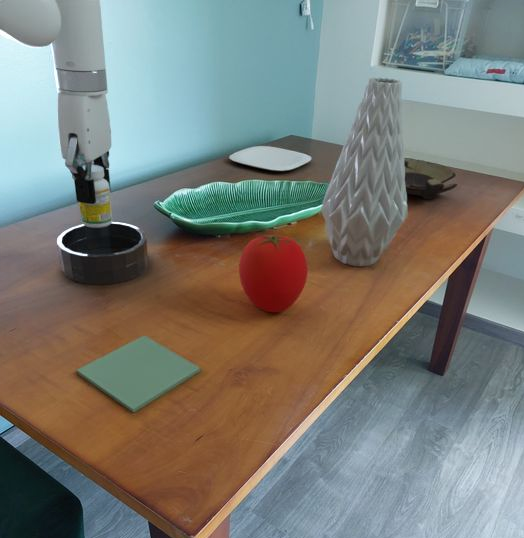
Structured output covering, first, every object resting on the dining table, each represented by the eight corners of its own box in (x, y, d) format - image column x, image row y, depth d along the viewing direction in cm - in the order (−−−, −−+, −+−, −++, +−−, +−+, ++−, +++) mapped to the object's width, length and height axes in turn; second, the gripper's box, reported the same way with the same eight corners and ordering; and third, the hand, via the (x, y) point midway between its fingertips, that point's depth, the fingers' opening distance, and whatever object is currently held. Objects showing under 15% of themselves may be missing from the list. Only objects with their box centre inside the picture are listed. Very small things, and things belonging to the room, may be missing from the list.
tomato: (316, 312, 91) (326, 241, 83) (267, 331, 85) (272, 258, 77) (274, 285, 98) (279, 218, 90) (226, 302, 92) (227, 231, 84)
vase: (399, 281, 102) (441, 92, 83) (312, 270, 103) (334, 83, 85) (395, 245, 115) (431, 77, 96) (319, 236, 117) (339, 69, 98)
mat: (133, 413, 68) (133, 409, 67) (76, 373, 74) (76, 369, 73) (200, 371, 75) (200, 367, 75) (144, 338, 81) (144, 335, 81)
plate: (283, 178, 149) (284, 172, 148) (220, 163, 158) (220, 157, 157) (318, 161, 165) (319, 156, 164) (258, 148, 174) (259, 143, 173)
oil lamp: (453, 182, 155) (460, 155, 151) (453, 217, 131) (461, 186, 127) (377, 171, 160) (381, 145, 155) (363, 203, 136) (368, 173, 131)
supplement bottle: (110, 229, 93) (104, 173, 88) (78, 227, 93) (71, 172, 87) (114, 217, 98) (110, 164, 92) (84, 216, 97) (78, 162, 92)
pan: (96, 294, 92) (92, 265, 88) (45, 265, 99) (39, 237, 96) (165, 265, 102) (163, 238, 99) (113, 241, 109) (110, 215, 106)
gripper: (83, 72, 90) (94, 180, 100) (29, 86, 76) (49, 210, 86) (125, 76, 89) (133, 184, 99) (80, 92, 75) (94, 216, 85)
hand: (94, 195), depth 93 cm, fingers closed on supplement bottle, 5 cm apart
